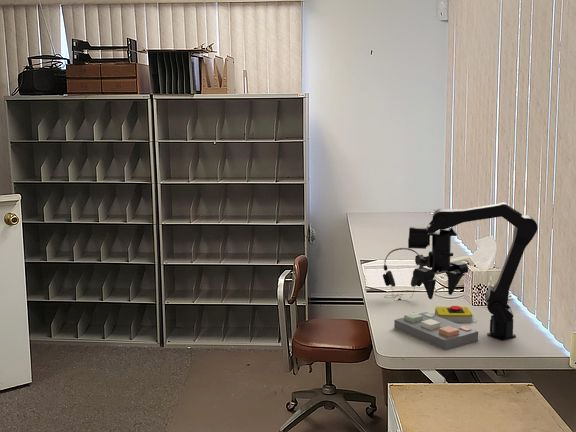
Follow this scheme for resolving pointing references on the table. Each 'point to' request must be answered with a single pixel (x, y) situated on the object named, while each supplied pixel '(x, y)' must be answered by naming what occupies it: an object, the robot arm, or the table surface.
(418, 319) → the sage key
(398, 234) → the table surface
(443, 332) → the terracotta key
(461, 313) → the emergency button
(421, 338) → the keypad
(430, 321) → the offwhite key
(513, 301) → the table surface
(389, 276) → the headphones
